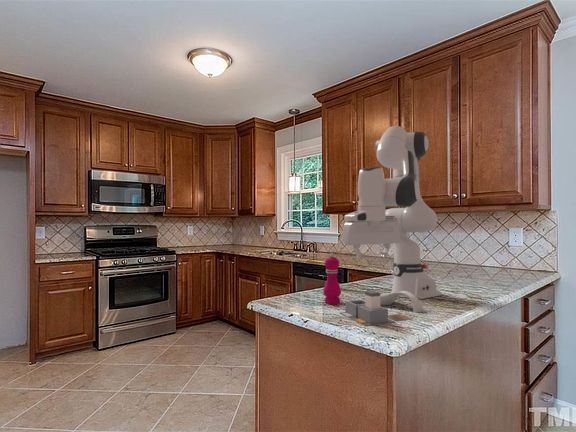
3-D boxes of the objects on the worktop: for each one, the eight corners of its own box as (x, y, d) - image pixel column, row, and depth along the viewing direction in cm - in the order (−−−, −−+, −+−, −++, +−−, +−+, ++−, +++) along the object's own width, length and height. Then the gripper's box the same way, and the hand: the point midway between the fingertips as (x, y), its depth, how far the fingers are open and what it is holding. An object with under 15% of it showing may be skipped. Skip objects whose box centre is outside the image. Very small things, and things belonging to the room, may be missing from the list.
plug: (374, 318, 116) (373, 290, 116) (380, 320, 113) (380, 292, 113) (365, 319, 115) (365, 291, 115) (371, 322, 112) (371, 293, 112)
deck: (399, 316, 122) (399, 313, 122) (413, 321, 116) (413, 319, 116) (382, 318, 120) (382, 315, 120) (396, 323, 113) (396, 321, 113)
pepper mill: (340, 304, 139) (340, 254, 140) (322, 304, 141) (322, 254, 141) (341, 300, 146) (341, 252, 147) (324, 300, 148) (323, 252, 148)
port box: (366, 312, 127) (365, 298, 127) (394, 324, 112) (394, 308, 112) (339, 315, 123) (339, 301, 123) (365, 328, 108) (365, 312, 108)
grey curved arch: (358, 304, 141) (358, 286, 141) (377, 300, 148) (377, 283, 148) (410, 317, 122) (410, 296, 122) (429, 312, 129) (429, 292, 129)
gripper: (391, 215, 122) (392, 255, 121) (339, 216, 114) (340, 258, 114) (403, 215, 116) (404, 257, 116) (350, 215, 108) (350, 260, 108)
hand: (372, 258), depth 115 cm, fingers open, 8 cm apart
